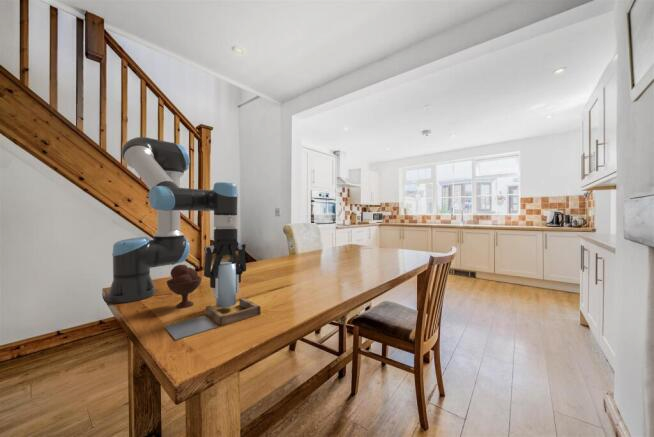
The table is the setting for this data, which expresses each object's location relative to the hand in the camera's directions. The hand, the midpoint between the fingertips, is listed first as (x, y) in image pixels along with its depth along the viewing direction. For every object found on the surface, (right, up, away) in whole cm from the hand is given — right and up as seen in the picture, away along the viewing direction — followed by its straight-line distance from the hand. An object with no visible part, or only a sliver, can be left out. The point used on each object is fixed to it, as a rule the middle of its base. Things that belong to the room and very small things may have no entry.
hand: (226, 294), depth 87 cm
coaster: (-5, -6, -14) cm, 15 cm away
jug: (-1, -3, +1) cm, 4 cm away
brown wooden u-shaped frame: (+4, -5, -4) cm, 8 cm away
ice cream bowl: (-17, -5, +4) cm, 18 cm away
